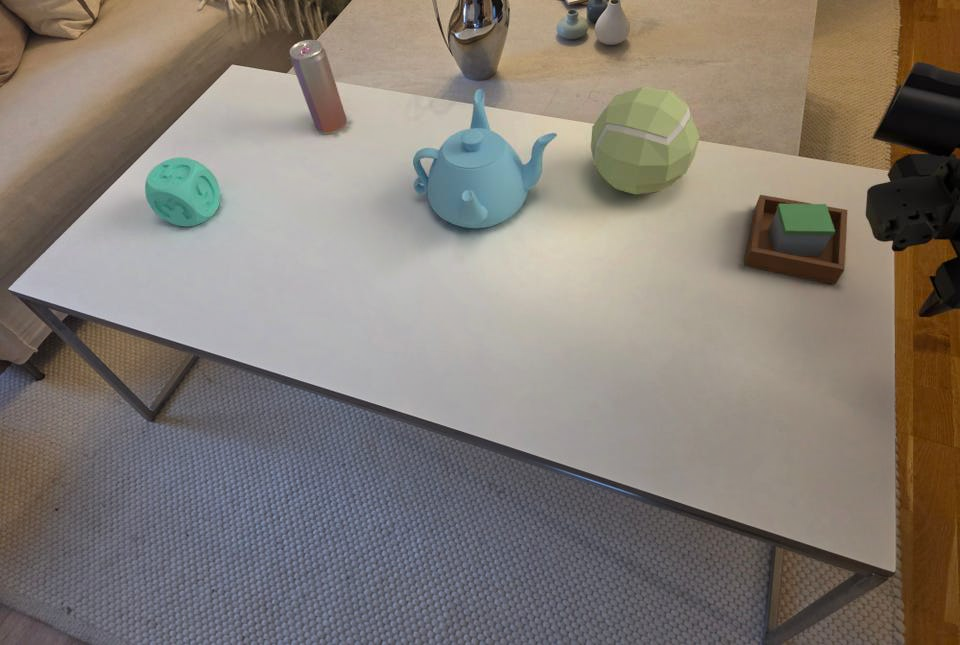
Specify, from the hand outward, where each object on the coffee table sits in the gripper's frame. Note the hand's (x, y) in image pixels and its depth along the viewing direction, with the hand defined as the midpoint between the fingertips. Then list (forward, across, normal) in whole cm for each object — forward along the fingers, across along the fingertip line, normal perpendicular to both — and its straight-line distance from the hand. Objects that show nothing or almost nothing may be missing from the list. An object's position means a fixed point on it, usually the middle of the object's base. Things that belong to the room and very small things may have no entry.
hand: (909, 281), depth 64 cm
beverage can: (+12, -45, -81) cm, 93 cm away
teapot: (+12, -25, -50) cm, 57 cm away
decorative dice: (+12, -22, -99) cm, 102 cm away
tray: (+12, -16, -5) cm, 21 cm away
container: (+11, -16, -5) cm, 21 cm away
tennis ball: (+12, -30, -26) cm, 42 cm away
